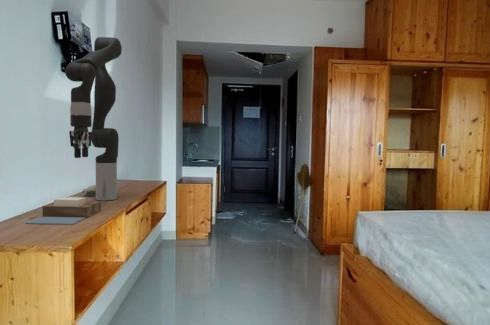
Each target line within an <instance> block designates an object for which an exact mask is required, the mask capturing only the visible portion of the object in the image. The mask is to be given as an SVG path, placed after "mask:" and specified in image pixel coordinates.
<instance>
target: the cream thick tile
mask: <svg viewBox="0 0 490 325" xmlns="http://www.w3.org/2000/svg"><path fill="white" fill-rule="evenodd" d="M86 201H87V197H77V196H72V197H71V196H68V197H67V196H62V197H58V198H55V199H53V203H54V206H69V207H79V206H81V205H84V204H86Z"/></svg>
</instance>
